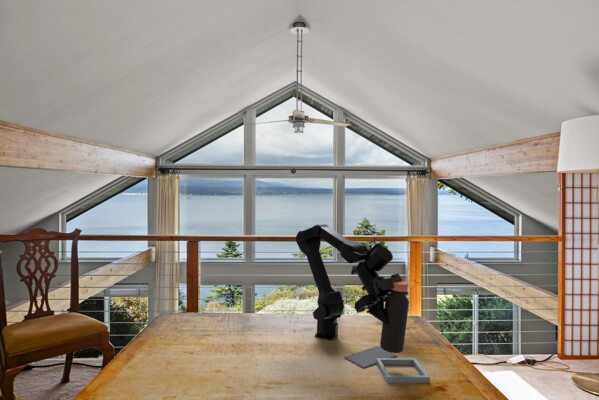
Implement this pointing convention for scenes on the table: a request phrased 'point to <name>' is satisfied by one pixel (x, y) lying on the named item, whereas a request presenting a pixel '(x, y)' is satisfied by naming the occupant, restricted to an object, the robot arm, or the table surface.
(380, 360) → the bottle holder
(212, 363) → the table surface
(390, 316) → the vinegar
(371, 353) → the mat
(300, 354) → the table surface
